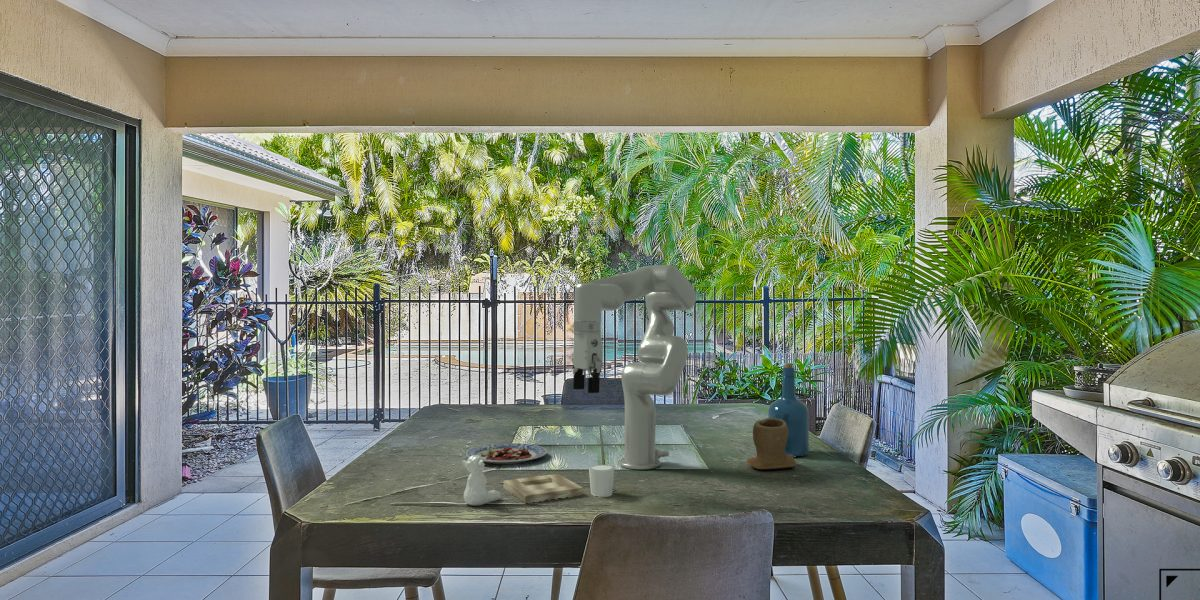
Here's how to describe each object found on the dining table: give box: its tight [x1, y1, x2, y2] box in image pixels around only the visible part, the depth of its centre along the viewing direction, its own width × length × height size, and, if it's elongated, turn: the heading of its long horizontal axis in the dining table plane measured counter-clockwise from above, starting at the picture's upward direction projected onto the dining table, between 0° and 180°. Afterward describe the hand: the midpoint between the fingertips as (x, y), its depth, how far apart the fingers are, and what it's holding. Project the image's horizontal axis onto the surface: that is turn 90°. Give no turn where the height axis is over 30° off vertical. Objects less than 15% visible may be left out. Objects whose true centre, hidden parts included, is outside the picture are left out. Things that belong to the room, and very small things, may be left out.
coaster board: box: [502, 473, 584, 505], centre depth 180 cm, size 16×16×2 cm
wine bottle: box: [767, 362, 810, 458], centre depth 226 cm, size 14×13×30 cm
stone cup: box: [746, 417, 798, 470], centre depth 206 cm, size 15×12×15 cm
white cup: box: [588, 464, 616, 498], centre depth 178 cm, size 7×7×7 cm
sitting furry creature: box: [461, 455, 502, 506], centre depth 171 cm, size 10×9×12 cm
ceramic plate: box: [465, 442, 548, 465], centre depth 219 cm, size 26×26×3 cm
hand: (585, 390), depth 186 cm, fingers open, 9 cm apart
